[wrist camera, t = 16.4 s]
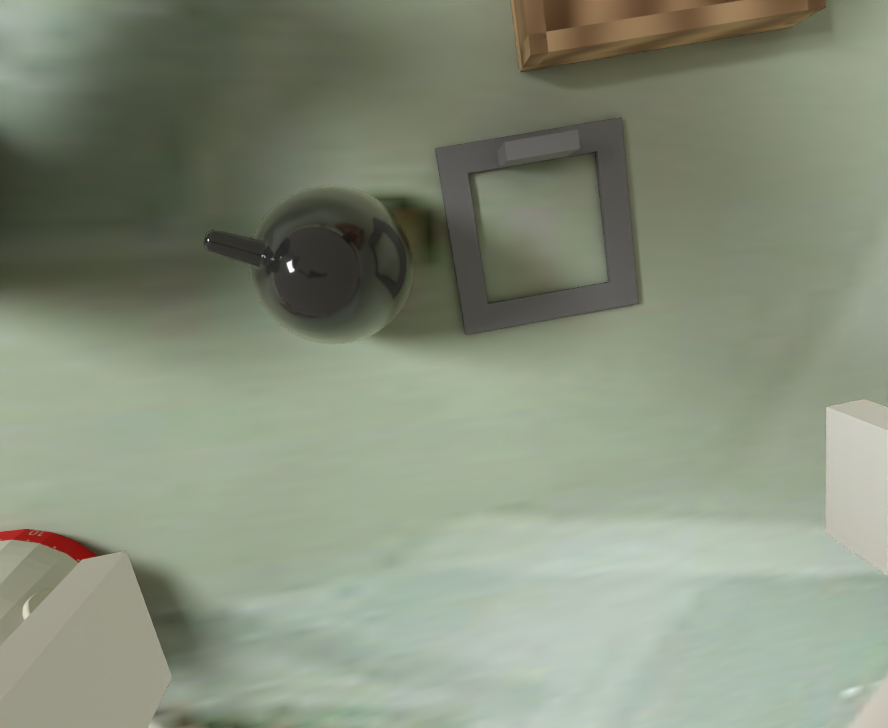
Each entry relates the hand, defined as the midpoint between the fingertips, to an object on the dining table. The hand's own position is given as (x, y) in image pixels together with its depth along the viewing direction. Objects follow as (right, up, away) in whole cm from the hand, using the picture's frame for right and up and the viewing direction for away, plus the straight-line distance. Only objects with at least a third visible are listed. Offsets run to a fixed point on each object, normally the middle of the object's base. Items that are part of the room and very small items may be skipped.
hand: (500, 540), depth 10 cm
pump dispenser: (-9, +11, +30) cm, 33 cm away
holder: (+6, +13, +30) cm, 34 cm away
